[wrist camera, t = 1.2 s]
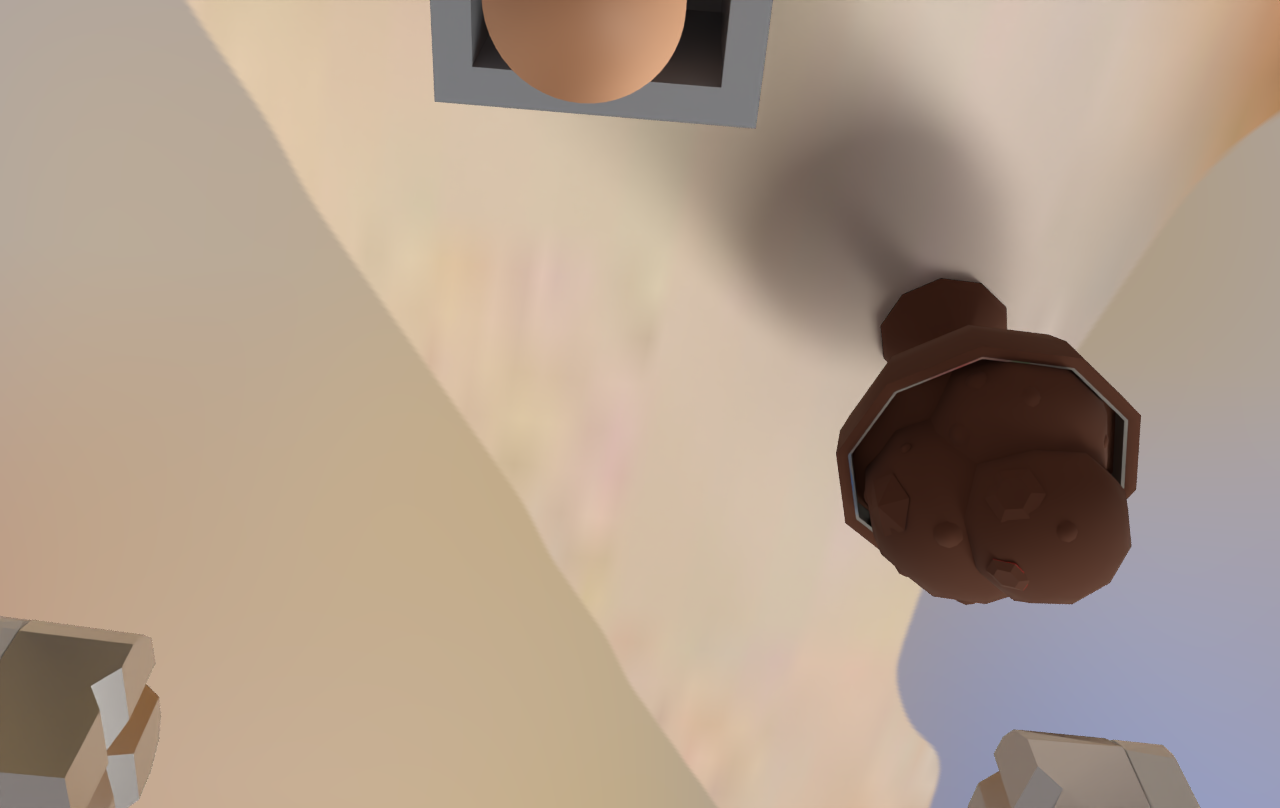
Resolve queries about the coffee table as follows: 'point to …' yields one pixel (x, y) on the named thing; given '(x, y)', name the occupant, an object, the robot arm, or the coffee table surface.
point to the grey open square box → (682, 92)
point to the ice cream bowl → (988, 455)
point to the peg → (585, 43)
